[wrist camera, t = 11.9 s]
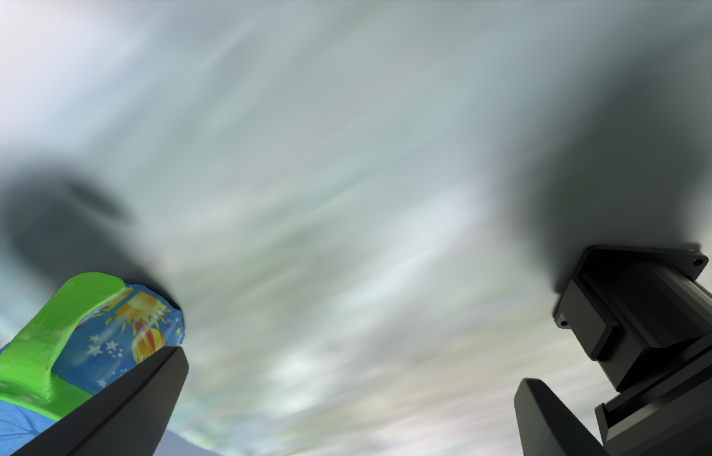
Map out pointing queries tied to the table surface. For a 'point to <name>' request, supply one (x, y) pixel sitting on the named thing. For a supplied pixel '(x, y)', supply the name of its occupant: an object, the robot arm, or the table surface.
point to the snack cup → (78, 351)
